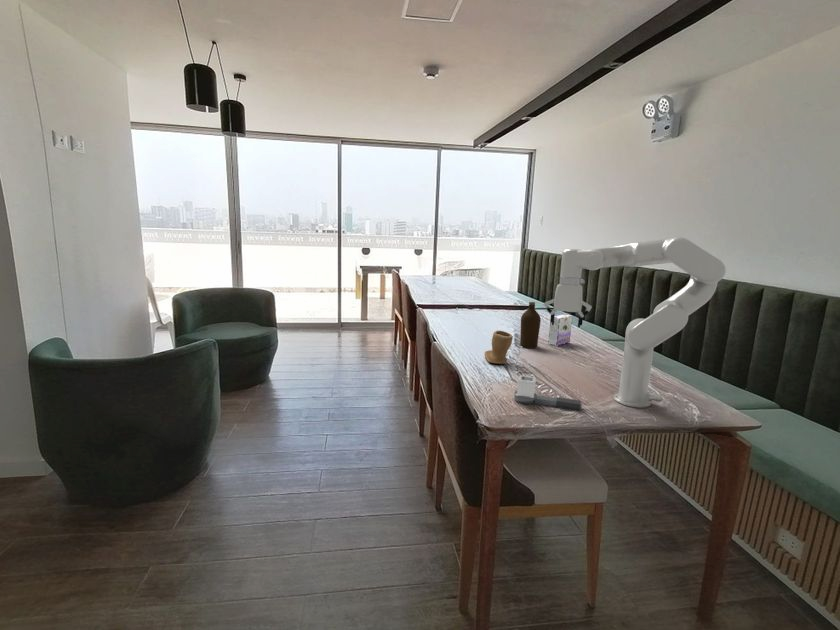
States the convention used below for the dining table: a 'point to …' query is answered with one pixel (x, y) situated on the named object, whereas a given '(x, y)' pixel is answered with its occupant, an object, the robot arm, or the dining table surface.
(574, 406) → the ratchet
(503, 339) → the tan boot
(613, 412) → the dining table surface
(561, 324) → the candy box
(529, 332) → the olive oil
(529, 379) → the socket
